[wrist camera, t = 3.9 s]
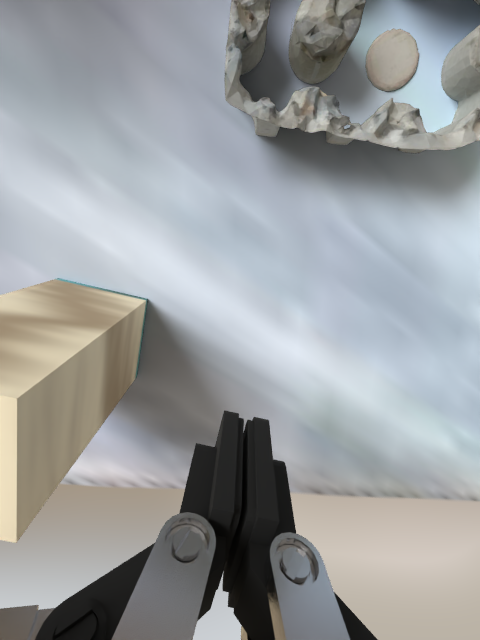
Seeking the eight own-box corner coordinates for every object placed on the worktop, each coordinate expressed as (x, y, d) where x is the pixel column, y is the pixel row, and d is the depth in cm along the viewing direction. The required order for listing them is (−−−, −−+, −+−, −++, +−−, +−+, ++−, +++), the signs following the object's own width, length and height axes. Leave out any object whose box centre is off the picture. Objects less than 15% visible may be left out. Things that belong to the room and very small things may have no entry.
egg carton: (500, -22, 13) (616, -134, 9) (435, 174, 15) (503, 157, 11) (246, -75, 12) (246, -215, 8) (220, 135, 14) (210, 101, 11)
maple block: (147, 299, 17) (17, 398, 7) (136, 376, 18) (16, 543, 9) (58, 278, 17) (-198, 353, 7) (54, 358, 18) (-160, 509, 9)
